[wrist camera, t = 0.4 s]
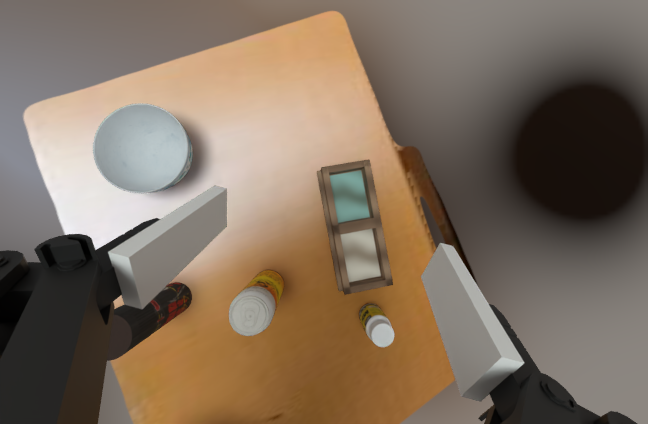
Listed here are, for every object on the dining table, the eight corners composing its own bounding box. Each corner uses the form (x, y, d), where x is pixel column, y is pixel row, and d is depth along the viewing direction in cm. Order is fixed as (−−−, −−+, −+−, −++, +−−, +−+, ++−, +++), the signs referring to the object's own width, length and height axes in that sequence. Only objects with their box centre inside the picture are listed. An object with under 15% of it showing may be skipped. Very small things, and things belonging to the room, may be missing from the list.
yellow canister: (285, 270, 46) (274, 295, 31) (282, 301, 46) (269, 340, 31) (255, 268, 46) (228, 291, 31) (251, 298, 45) (223, 337, 30)
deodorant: (167, 318, 44) (94, 368, 29) (155, 290, 44) (76, 325, 29) (196, 305, 45) (139, 348, 30) (184, 277, 45) (121, 306, 30)
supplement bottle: (360, 301, 47) (371, 318, 38) (383, 304, 47) (399, 323, 39) (356, 324, 46) (367, 347, 38) (379, 328, 47) (394, 351, 38)
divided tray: (390, 278, 47) (397, 283, 44) (338, 289, 46) (340, 295, 43) (368, 163, 48) (373, 158, 44) (316, 172, 47) (317, 168, 43)
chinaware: (224, 158, 46) (206, 146, 38) (170, 213, 45) (141, 211, 37) (168, 107, 46) (139, 85, 38) (113, 161, 45) (72, 149, 37)
